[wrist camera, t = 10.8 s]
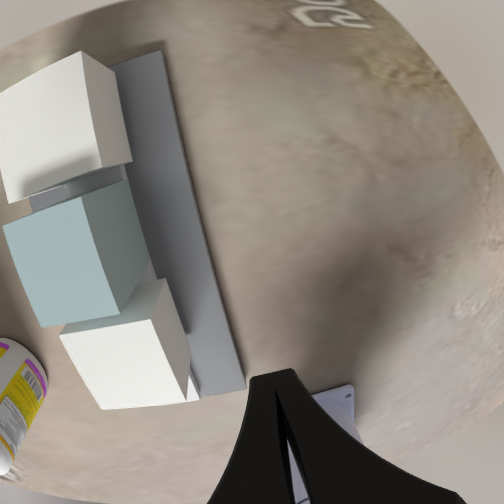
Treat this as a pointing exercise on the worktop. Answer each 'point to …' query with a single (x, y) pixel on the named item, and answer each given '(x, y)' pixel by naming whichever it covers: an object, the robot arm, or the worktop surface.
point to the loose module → (80, 255)
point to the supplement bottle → (18, 397)
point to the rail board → (150, 218)
